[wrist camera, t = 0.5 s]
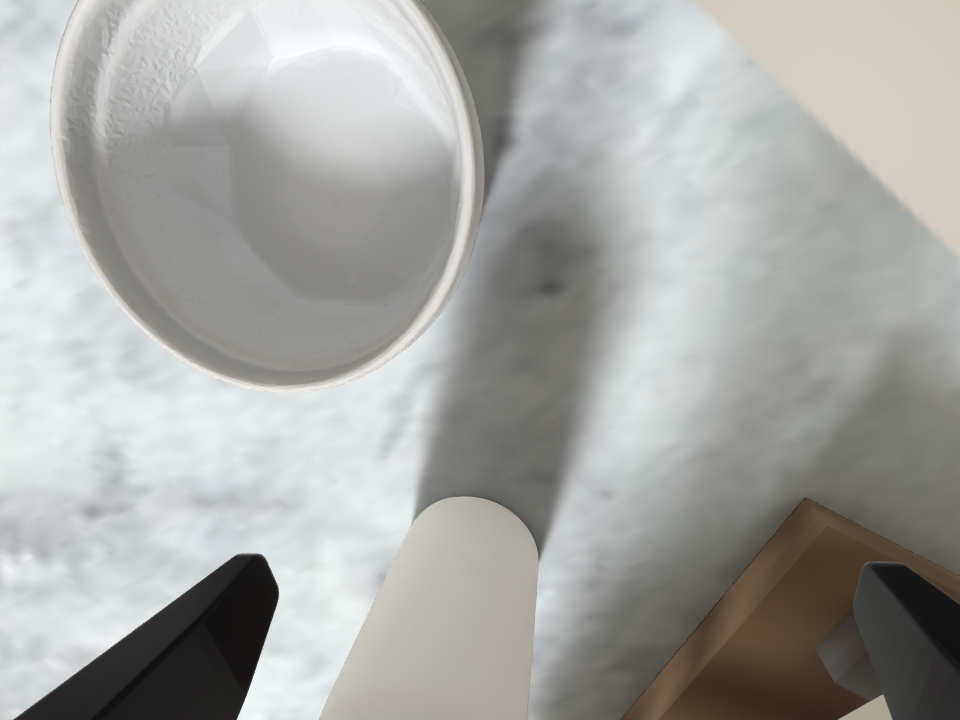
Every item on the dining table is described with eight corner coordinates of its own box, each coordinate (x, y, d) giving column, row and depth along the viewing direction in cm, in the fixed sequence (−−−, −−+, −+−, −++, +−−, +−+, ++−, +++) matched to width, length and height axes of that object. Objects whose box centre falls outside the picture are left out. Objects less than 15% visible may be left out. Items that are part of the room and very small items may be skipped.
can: (485, 467, 24) (413, 702, 13) (566, 570, 25) (566, 875, 14) (382, 530, 26) (240, 783, 15) (461, 624, 27) (384, 931, 16)
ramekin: (138, 121, 22) (-42, 88, 16) (393, -86, 19) (299, -243, 12) (310, 387, 25) (216, 456, 18) (565, 249, 21) (565, 271, 14)
